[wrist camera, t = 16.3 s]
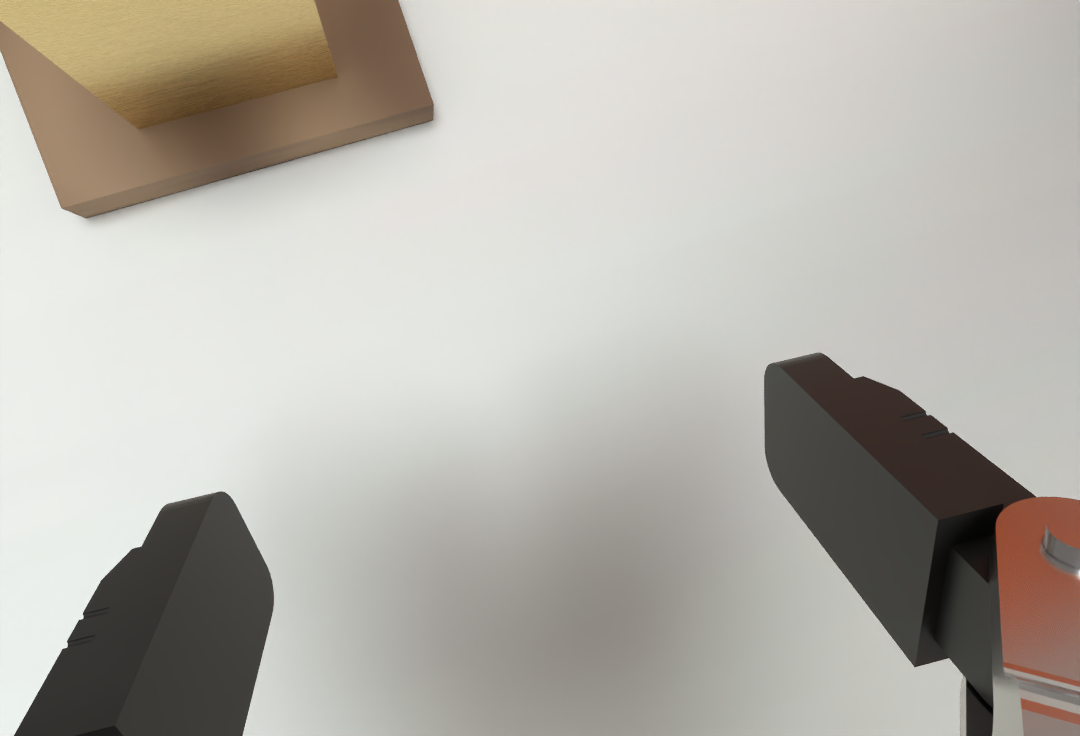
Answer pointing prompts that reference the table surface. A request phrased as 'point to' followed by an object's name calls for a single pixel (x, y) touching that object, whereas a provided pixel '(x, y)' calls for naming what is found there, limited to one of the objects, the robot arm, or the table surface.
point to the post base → (221, 116)
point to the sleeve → (177, 50)
